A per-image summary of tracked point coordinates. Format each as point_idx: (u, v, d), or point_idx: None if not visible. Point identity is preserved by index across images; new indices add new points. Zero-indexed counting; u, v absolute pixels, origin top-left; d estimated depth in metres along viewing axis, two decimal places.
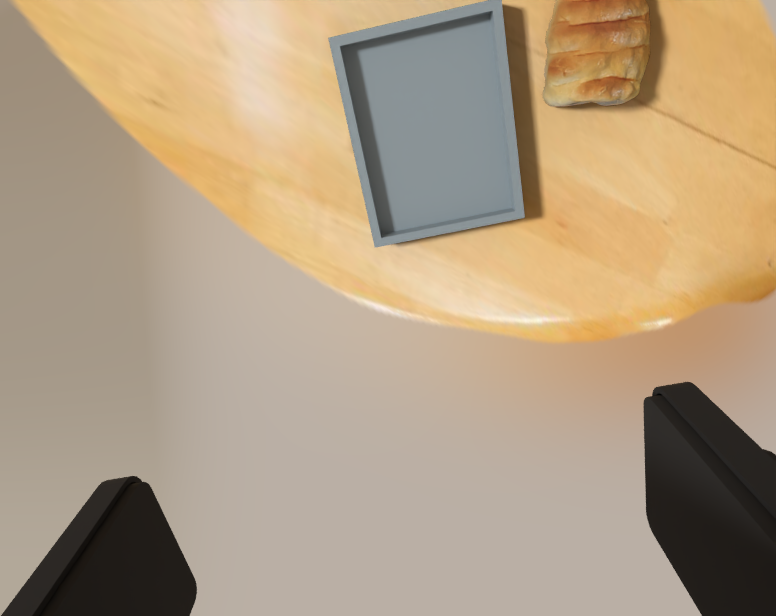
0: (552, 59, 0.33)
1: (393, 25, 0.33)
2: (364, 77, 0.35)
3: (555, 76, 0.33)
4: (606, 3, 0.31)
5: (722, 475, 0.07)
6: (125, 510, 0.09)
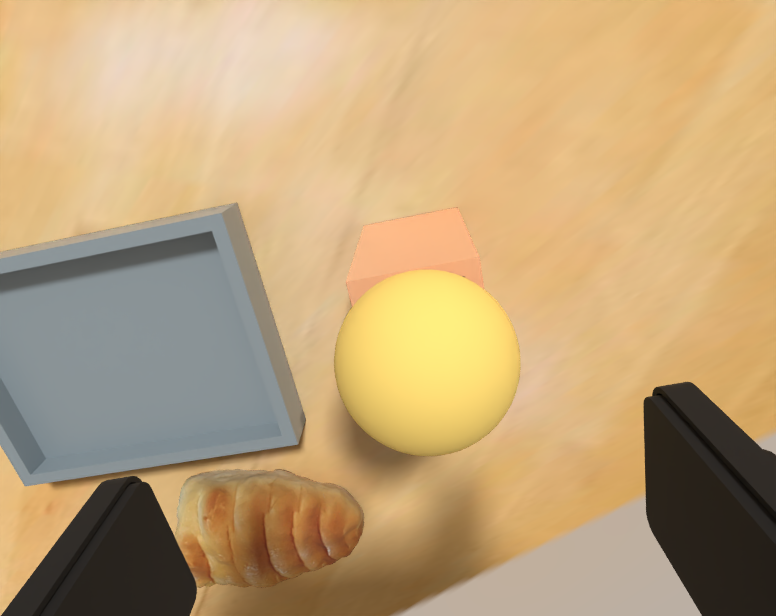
0: (229, 493, 0.25)
1: (250, 312, 0.21)
2: (184, 257, 0.22)
3: (204, 504, 0.25)
4: (290, 550, 0.25)
5: (722, 475, 0.07)
6: (125, 510, 0.09)
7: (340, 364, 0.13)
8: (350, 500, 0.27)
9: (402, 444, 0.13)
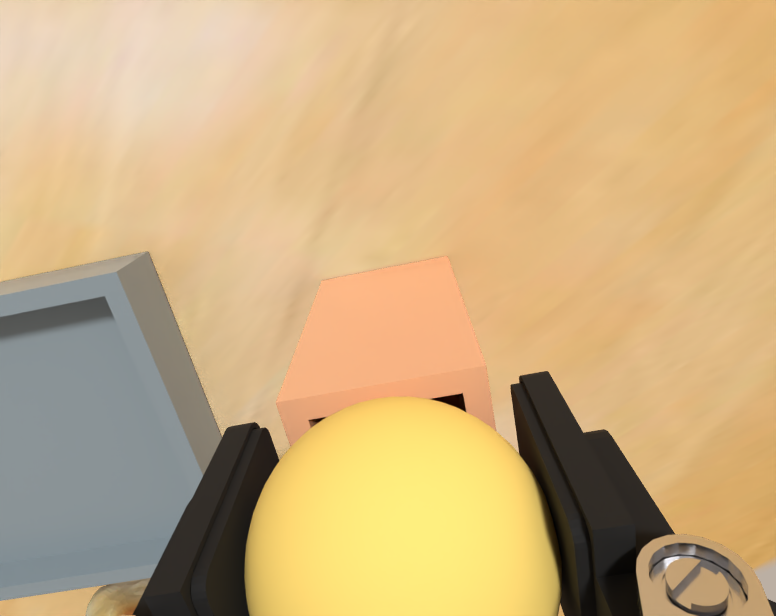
0: None
1: (166, 401, 0.16)
2: (77, 326, 0.16)
3: None
4: None
5: (543, 448, 0.08)
6: (256, 450, 0.10)
7: (248, 587, 0.07)
8: None
9: None
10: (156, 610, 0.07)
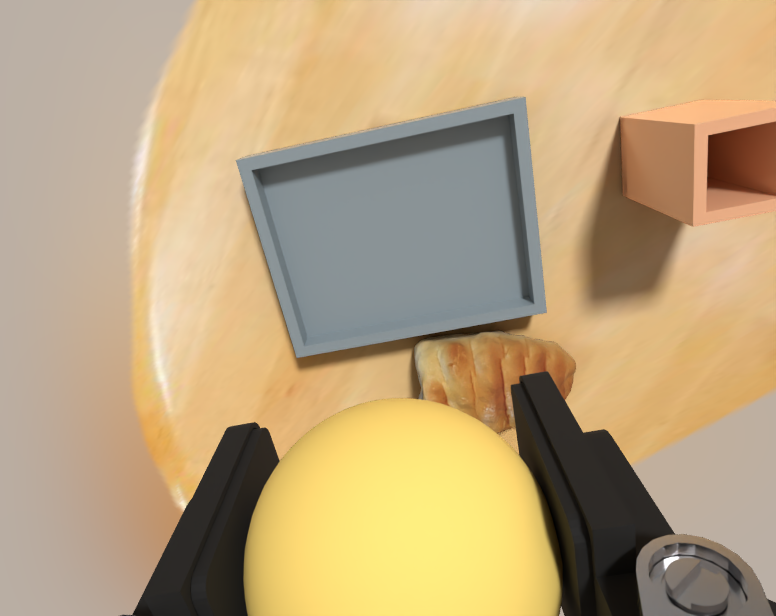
0: (464, 346, 0.29)
1: (531, 187, 0.25)
2: (470, 144, 0.26)
3: (446, 354, 0.29)
4: None
5: (543, 448, 0.08)
6: (256, 450, 0.10)
7: (247, 590, 0.07)
8: (564, 351, 0.30)
9: None
10: (156, 610, 0.07)
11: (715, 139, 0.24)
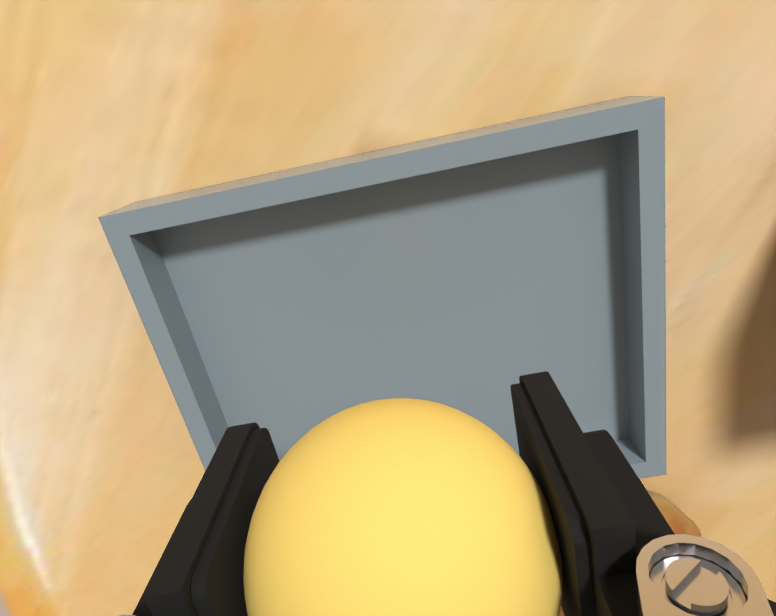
0: None
1: (659, 268, 0.13)
2: (542, 184, 0.14)
3: None
4: None
5: (543, 448, 0.08)
6: (256, 450, 0.10)
7: (247, 590, 0.07)
8: (679, 510, 0.18)
9: None
10: (156, 610, 0.07)
11: None
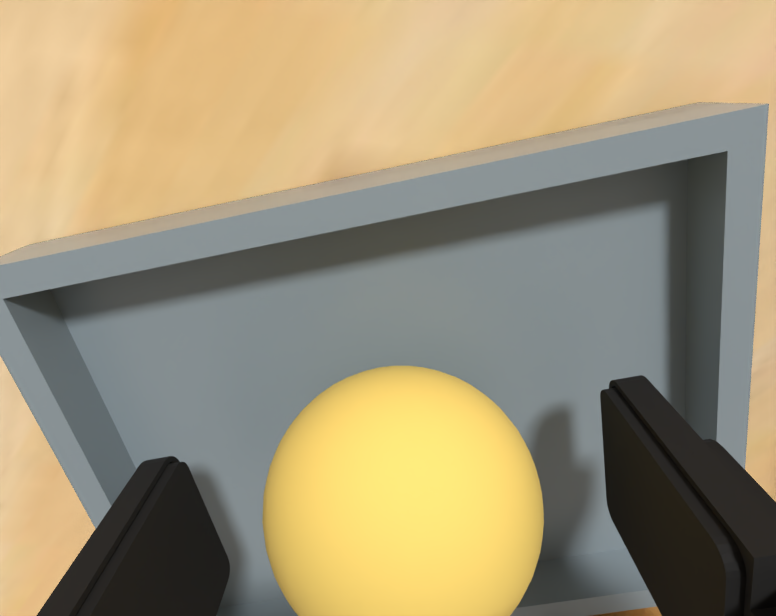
0: None
1: (744, 341, 0.10)
2: (580, 223, 0.10)
3: None
4: None
5: (661, 461, 0.07)
6: (167, 487, 0.09)
7: (267, 527, 0.08)
8: None
9: None
10: None
11: None
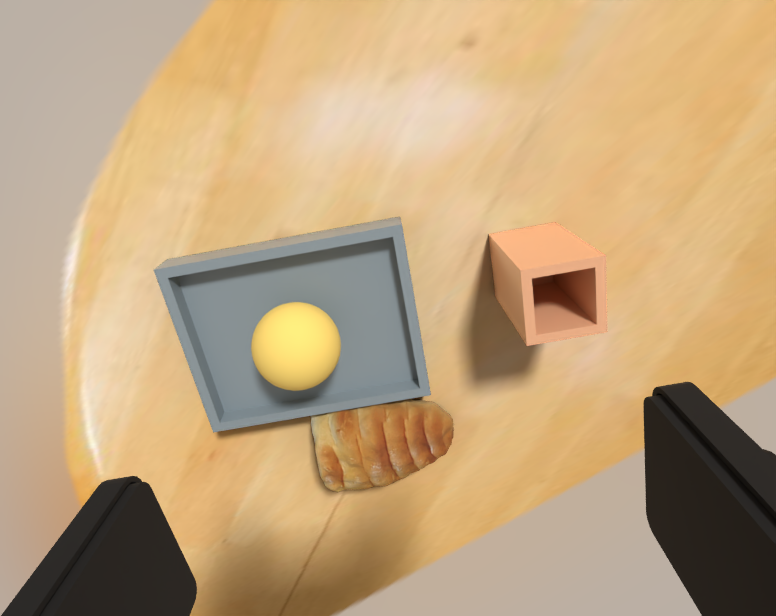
0: (352, 411, 0.33)
1: (411, 295, 0.30)
2: (360, 256, 0.30)
3: (335, 421, 0.32)
4: (404, 450, 0.33)
5: (722, 475, 0.07)
6: (125, 510, 0.09)
7: (252, 346, 0.28)
8: None
9: (279, 382, 0.28)
10: None
11: None
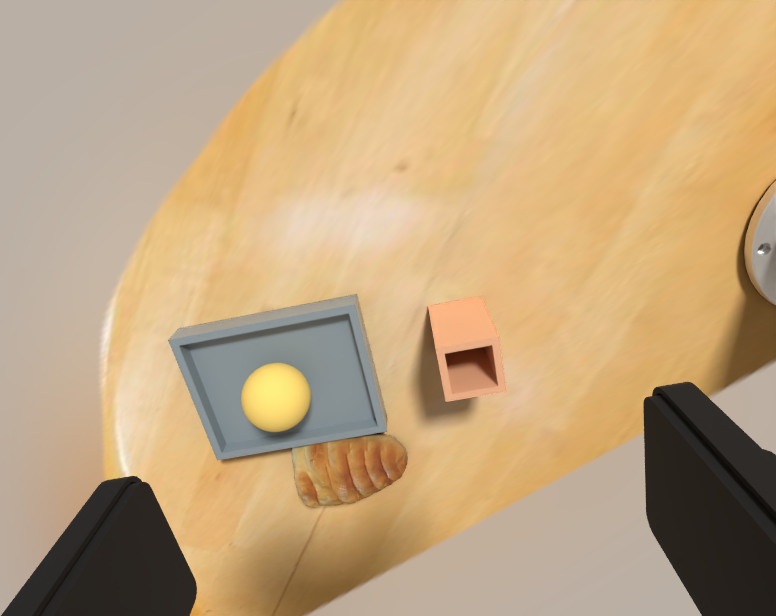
0: (323, 444, 0.41)
1: (366, 356, 0.38)
2: (326, 325, 0.39)
3: (309, 452, 0.41)
4: (364, 475, 0.41)
5: (722, 475, 0.07)
6: (125, 510, 0.09)
7: (241, 398, 0.37)
8: (397, 442, 0.42)
9: (261, 427, 0.37)
10: None
11: None
